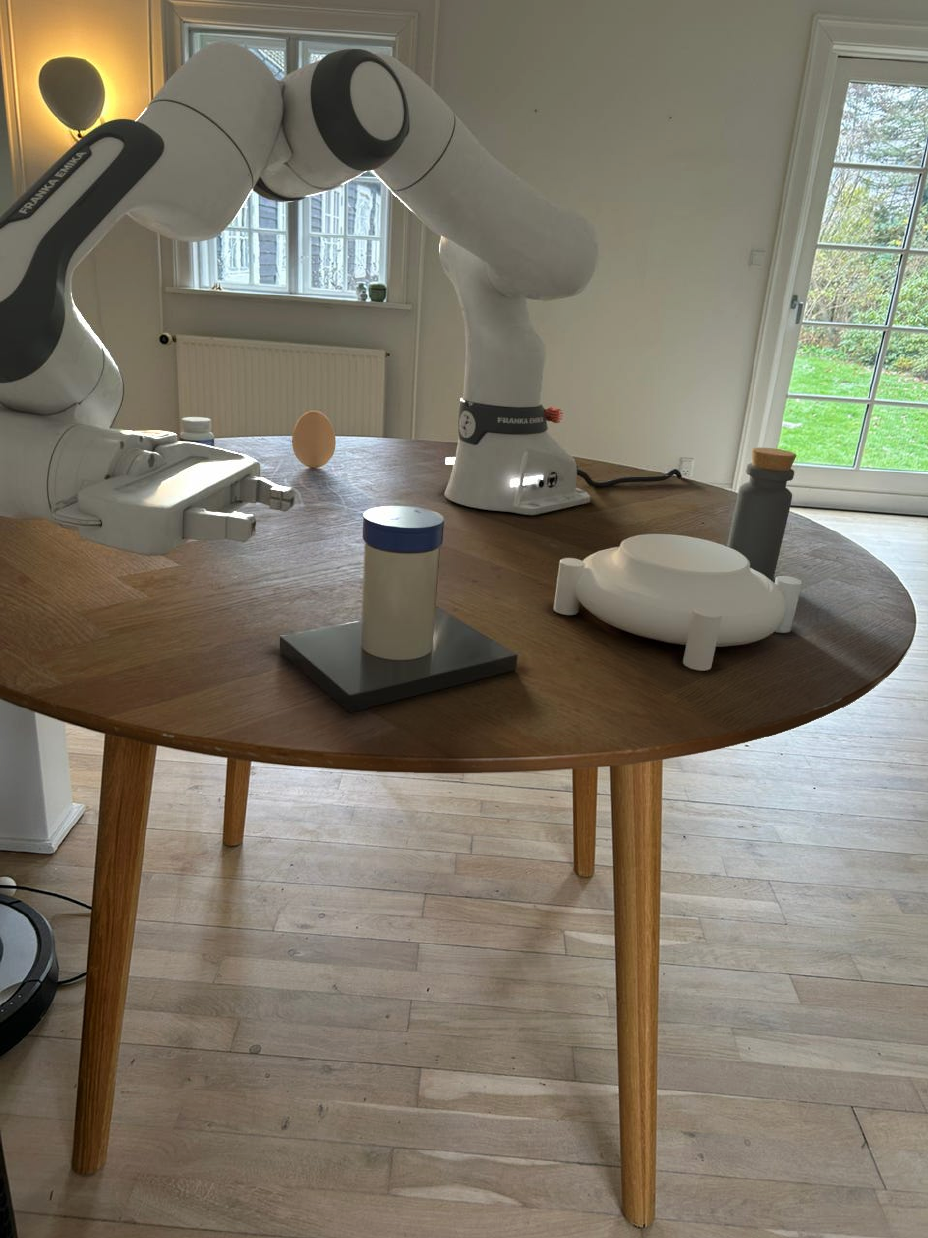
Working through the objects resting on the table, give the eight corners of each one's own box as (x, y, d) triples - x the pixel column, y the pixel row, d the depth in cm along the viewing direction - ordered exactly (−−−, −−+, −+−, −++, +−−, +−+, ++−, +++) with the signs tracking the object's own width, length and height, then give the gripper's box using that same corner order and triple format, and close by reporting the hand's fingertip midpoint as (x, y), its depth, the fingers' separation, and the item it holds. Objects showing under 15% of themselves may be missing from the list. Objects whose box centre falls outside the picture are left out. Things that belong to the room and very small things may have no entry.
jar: (407, 626, 75) (414, 509, 71) (446, 651, 71) (456, 528, 67) (347, 638, 72) (351, 516, 68) (384, 666, 67) (390, 537, 63)
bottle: (746, 589, 97) (775, 457, 91) (710, 572, 101) (736, 446, 96) (783, 584, 99) (813, 456, 94) (746, 568, 104) (773, 445, 98)
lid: (415, 524, 72) (416, 502, 71) (459, 546, 67) (460, 522, 66) (347, 532, 68) (348, 509, 67) (389, 556, 63) (390, 531, 63)
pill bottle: (205, 482, 121) (203, 423, 118) (175, 478, 122) (172, 419, 119) (220, 475, 126) (219, 418, 122) (191, 472, 126) (189, 414, 123)
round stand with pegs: (835, 681, 75) (856, 606, 72) (564, 659, 75) (574, 583, 72) (754, 588, 97) (768, 528, 94) (545, 570, 97) (552, 509, 94)
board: (436, 620, 81) (437, 605, 80) (516, 670, 72) (518, 654, 71) (279, 651, 71) (279, 635, 71) (349, 713, 63) (349, 695, 62)
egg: (311, 474, 131) (312, 415, 128) (282, 465, 135) (282, 408, 131) (343, 469, 136) (345, 412, 133) (315, 461, 140) (315, 405, 136)
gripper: (34, 471, 59) (224, 507, 58) (169, 426, 78) (314, 453, 77) (38, 556, 62) (221, 592, 61) (167, 493, 81) (308, 520, 80)
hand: (274, 514), depth 69 cm, fingers open, 8 cm apart
